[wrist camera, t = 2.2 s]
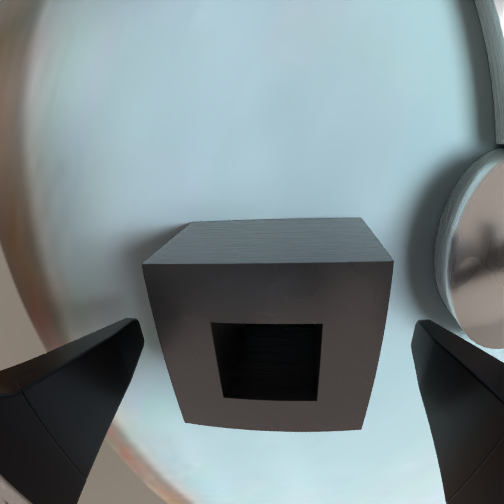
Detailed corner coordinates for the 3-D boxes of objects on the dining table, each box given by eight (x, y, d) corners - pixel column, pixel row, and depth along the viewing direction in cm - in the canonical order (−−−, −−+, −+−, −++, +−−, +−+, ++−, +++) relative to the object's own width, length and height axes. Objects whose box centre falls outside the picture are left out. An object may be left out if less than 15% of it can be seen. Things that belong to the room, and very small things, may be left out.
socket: (361, 217, 10) (393, 261, 6) (350, 357, 12) (361, 429, 8) (191, 222, 11) (141, 264, 7) (212, 355, 13) (185, 422, 9)
